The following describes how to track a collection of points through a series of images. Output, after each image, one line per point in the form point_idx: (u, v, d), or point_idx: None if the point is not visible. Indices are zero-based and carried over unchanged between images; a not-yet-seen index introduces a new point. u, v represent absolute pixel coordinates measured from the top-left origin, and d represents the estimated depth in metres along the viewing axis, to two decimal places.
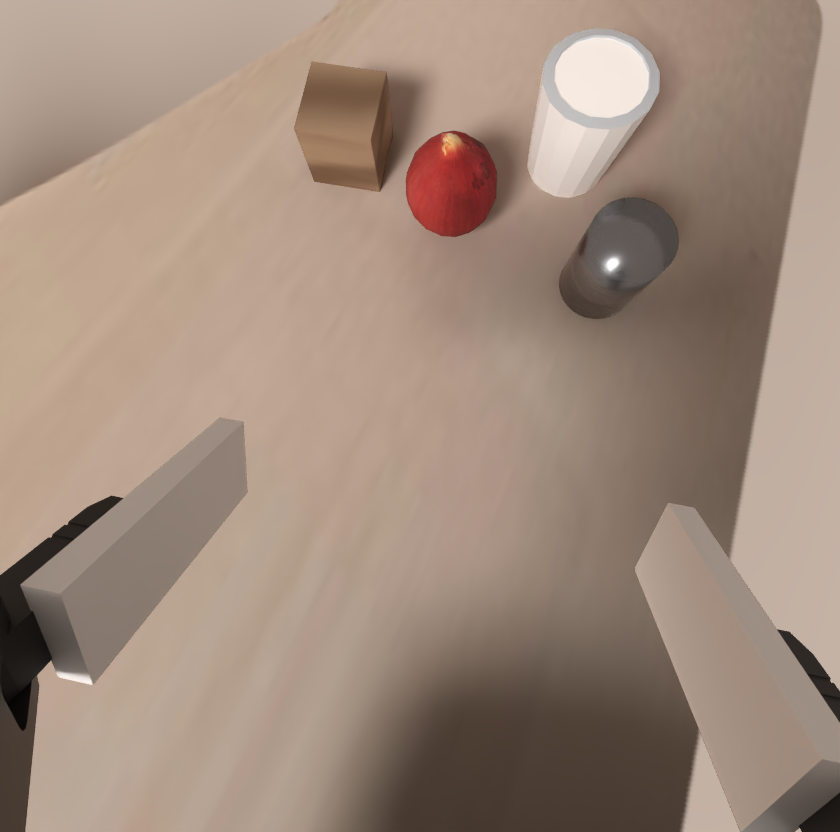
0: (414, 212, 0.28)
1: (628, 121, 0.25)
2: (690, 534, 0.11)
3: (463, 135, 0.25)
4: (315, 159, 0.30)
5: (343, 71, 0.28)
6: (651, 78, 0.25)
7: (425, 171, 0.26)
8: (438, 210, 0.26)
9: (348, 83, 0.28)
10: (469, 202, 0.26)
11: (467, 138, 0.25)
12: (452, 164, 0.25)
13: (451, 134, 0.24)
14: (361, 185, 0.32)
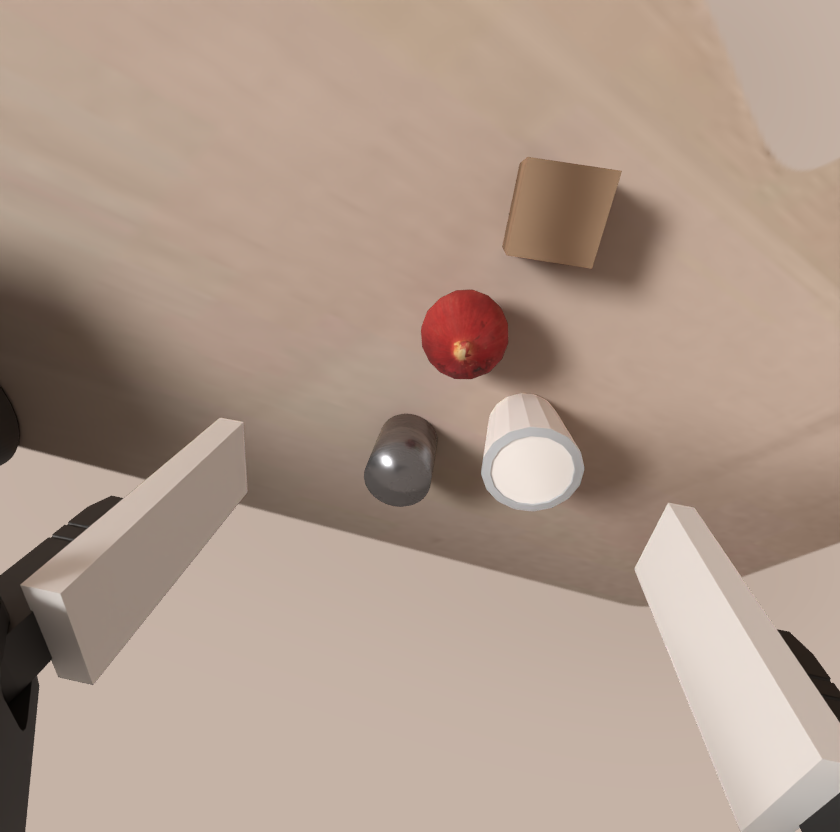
0: None
1: (488, 486, 0.31)
2: (690, 534, 0.11)
3: (481, 358, 0.27)
4: (520, 174, 0.26)
5: (600, 215, 0.24)
6: (527, 505, 0.31)
7: (451, 321, 0.26)
8: (425, 328, 0.28)
9: (582, 223, 0.24)
10: (429, 358, 0.28)
11: (476, 362, 0.27)
12: (447, 349, 0.26)
13: (463, 353, 0.25)
14: (507, 226, 0.29)
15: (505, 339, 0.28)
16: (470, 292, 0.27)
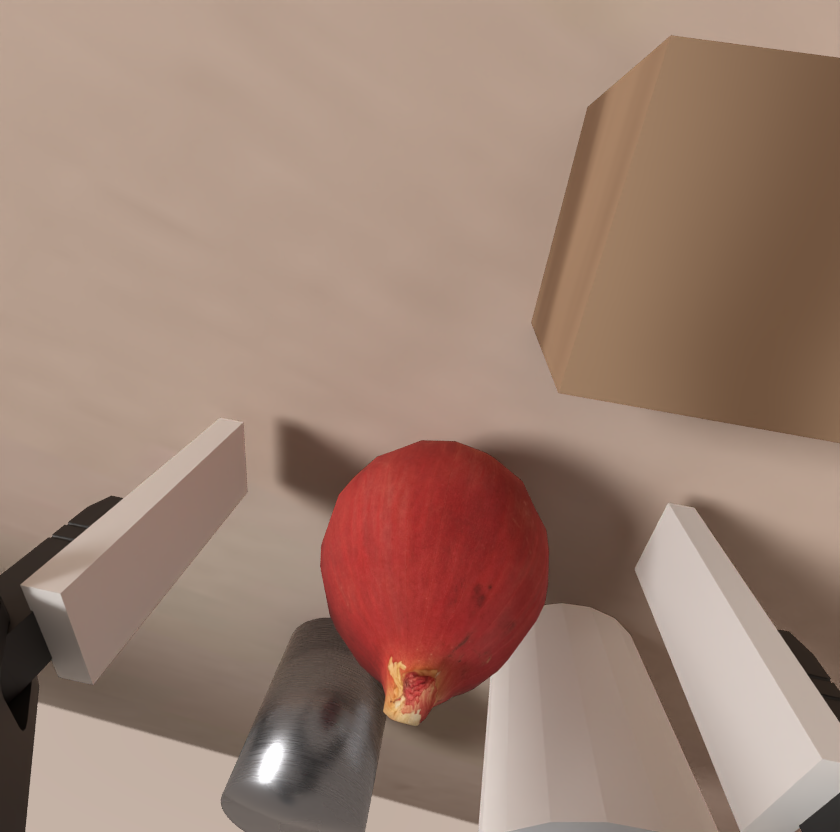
0: (363, 473, 0.11)
1: None
2: (690, 534, 0.11)
3: (474, 683, 0.09)
4: (602, 130, 0.08)
5: None
6: None
7: (382, 578, 0.09)
8: (324, 558, 0.10)
9: None
10: None
11: (459, 693, 0.09)
12: (373, 661, 0.09)
13: (412, 721, 0.08)
14: (545, 276, 0.11)
15: (543, 596, 0.10)
16: (446, 468, 0.10)
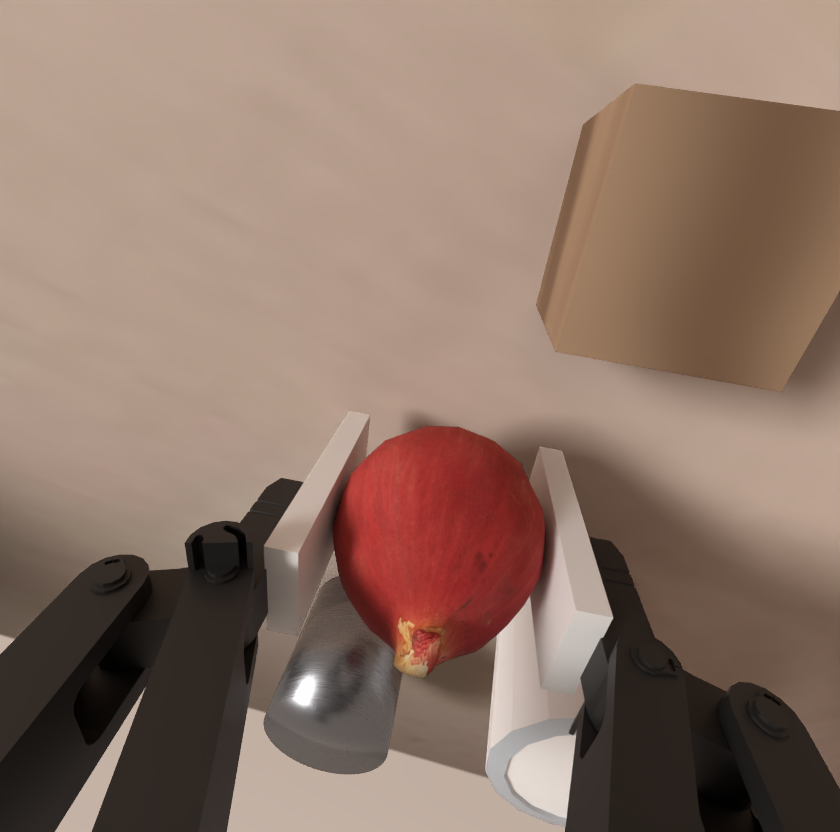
0: (373, 455, 0.11)
1: (499, 788, 0.15)
2: (547, 468, 0.13)
3: (475, 644, 0.10)
4: (592, 146, 0.10)
5: (834, 258, 0.08)
6: None
7: (392, 547, 0.09)
8: (337, 532, 0.11)
9: (777, 278, 0.09)
10: None
11: (462, 654, 0.10)
12: (383, 623, 0.10)
13: (420, 672, 0.08)
14: (548, 264, 0.13)
15: (539, 567, 0.11)
16: (450, 449, 0.11)
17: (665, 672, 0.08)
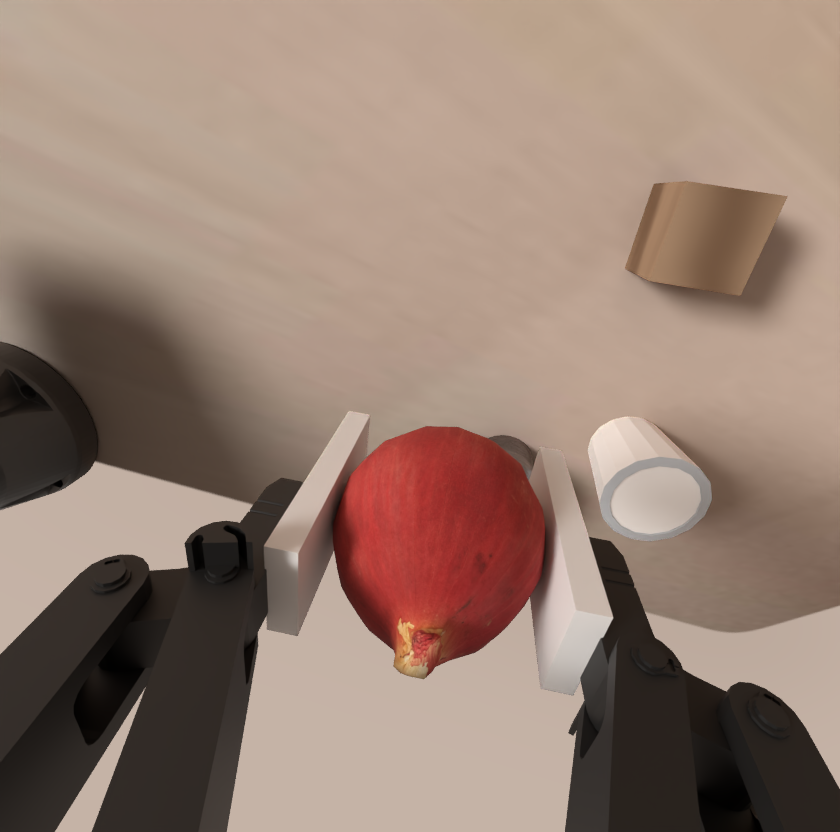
0: (373, 456, 0.11)
1: (605, 515, 0.30)
2: (547, 468, 0.13)
3: (475, 645, 0.10)
4: (663, 197, 0.25)
5: (757, 242, 0.23)
6: (644, 535, 0.30)
7: (392, 548, 0.09)
8: (337, 533, 0.11)
9: (737, 249, 0.23)
10: None
11: (462, 654, 0.10)
12: (383, 624, 0.10)
13: (420, 673, 0.08)
14: (633, 247, 0.28)
15: (539, 568, 0.11)
16: (450, 449, 0.11)
17: (666, 672, 0.08)
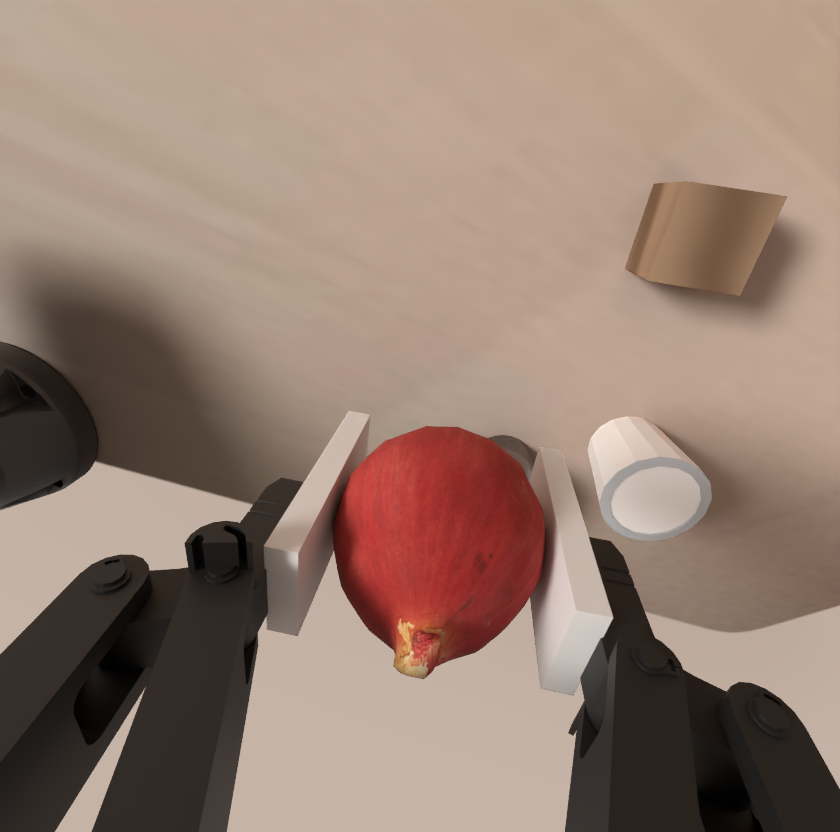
0: (373, 456, 0.11)
1: (605, 515, 0.30)
2: (547, 468, 0.13)
3: (475, 645, 0.10)
4: (663, 197, 0.25)
5: (757, 242, 0.23)
6: (644, 535, 0.30)
7: (392, 548, 0.09)
8: (337, 533, 0.11)
9: (736, 249, 0.23)
10: None
11: (462, 655, 0.10)
12: (383, 624, 0.10)
13: (420, 673, 0.08)
14: (633, 248, 0.28)
15: (539, 568, 0.11)
16: (450, 450, 0.11)
17: (665, 672, 0.08)
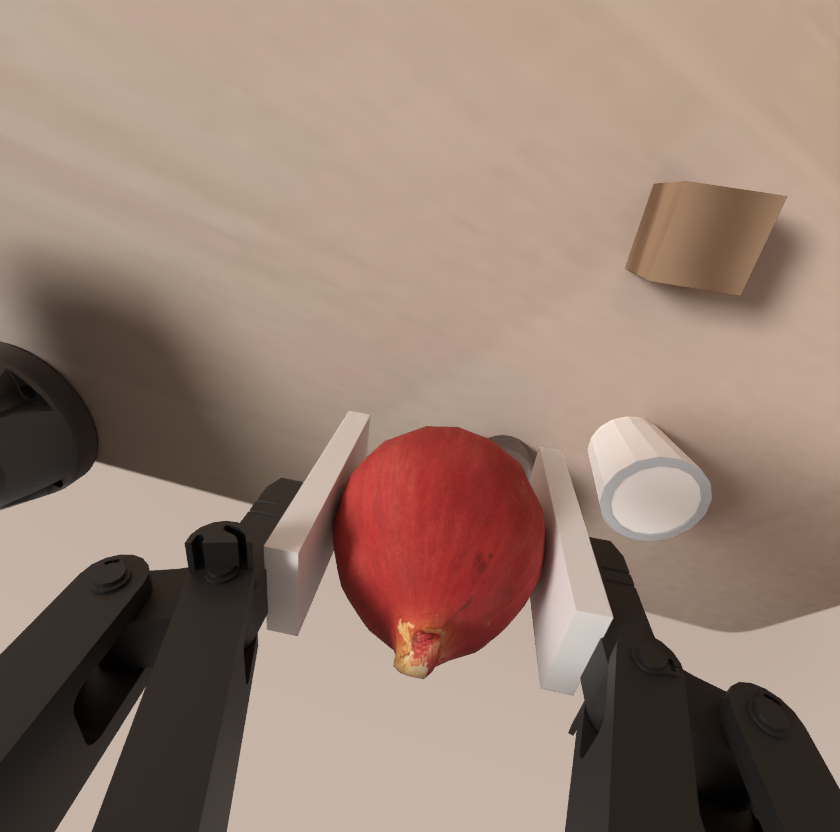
0: (373, 456, 0.11)
1: (605, 515, 0.30)
2: (547, 468, 0.13)
3: (475, 645, 0.10)
4: (663, 197, 0.25)
5: (757, 241, 0.23)
6: (644, 534, 0.30)
7: (392, 548, 0.09)
8: (337, 533, 0.11)
9: (737, 249, 0.23)
10: None
11: (462, 655, 0.10)
12: (383, 624, 0.10)
13: (420, 673, 0.08)
14: (633, 247, 0.28)
15: (539, 568, 0.11)
16: (450, 450, 0.11)
17: (665, 672, 0.08)
